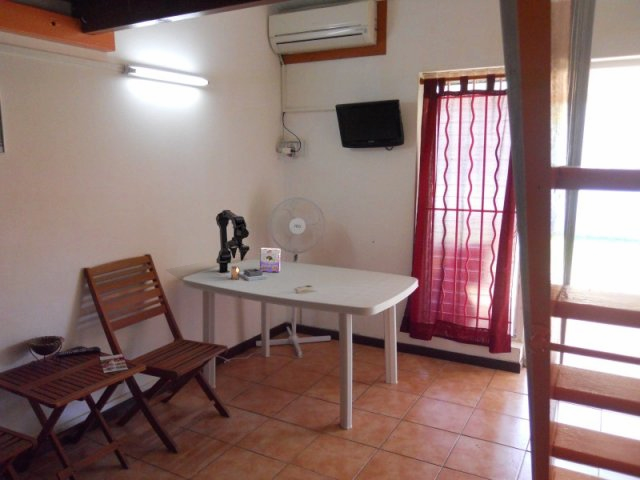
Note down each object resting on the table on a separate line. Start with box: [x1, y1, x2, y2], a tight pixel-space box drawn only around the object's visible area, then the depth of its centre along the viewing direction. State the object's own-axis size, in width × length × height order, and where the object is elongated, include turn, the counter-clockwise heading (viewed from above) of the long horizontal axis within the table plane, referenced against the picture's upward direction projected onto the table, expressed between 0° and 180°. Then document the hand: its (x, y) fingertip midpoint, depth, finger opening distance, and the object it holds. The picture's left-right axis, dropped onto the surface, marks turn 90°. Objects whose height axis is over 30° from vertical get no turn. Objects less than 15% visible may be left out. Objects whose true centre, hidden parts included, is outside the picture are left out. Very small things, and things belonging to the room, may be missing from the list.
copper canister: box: [230, 265, 240, 281], centre depth 326 cm, size 5×5×8 cm
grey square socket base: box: [239, 268, 267, 282], centre depth 333 cm, size 17×13×5 cm
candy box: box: [259, 247, 282, 273], centre depth 351 cm, size 14×6×16 cm, turn 84°
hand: (237, 259), depth 324 cm, fingers open, 9 cm apart
